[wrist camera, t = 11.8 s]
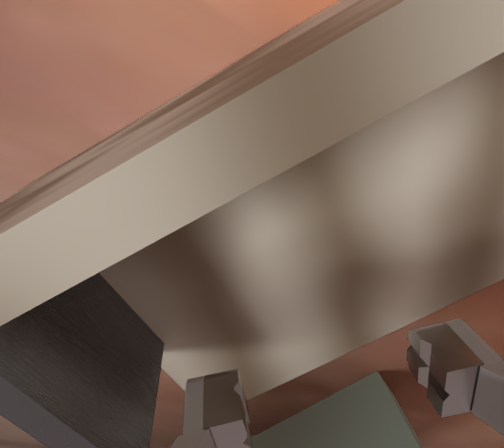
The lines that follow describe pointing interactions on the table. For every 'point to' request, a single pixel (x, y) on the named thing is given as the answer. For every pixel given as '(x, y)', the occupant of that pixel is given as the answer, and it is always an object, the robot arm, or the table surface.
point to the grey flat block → (346, 421)
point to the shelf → (259, 220)
